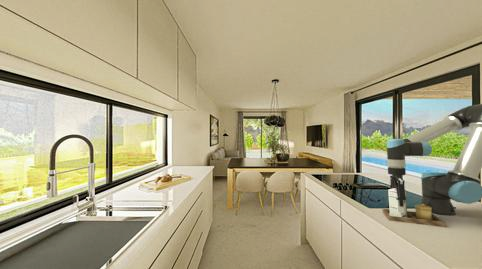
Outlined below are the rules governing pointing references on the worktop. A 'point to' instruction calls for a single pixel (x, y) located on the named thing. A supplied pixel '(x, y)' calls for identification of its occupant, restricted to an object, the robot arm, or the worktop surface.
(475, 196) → the robot arm
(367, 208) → the worktop surface
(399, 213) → the syrup box
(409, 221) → the caddy
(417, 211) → the honey pot
